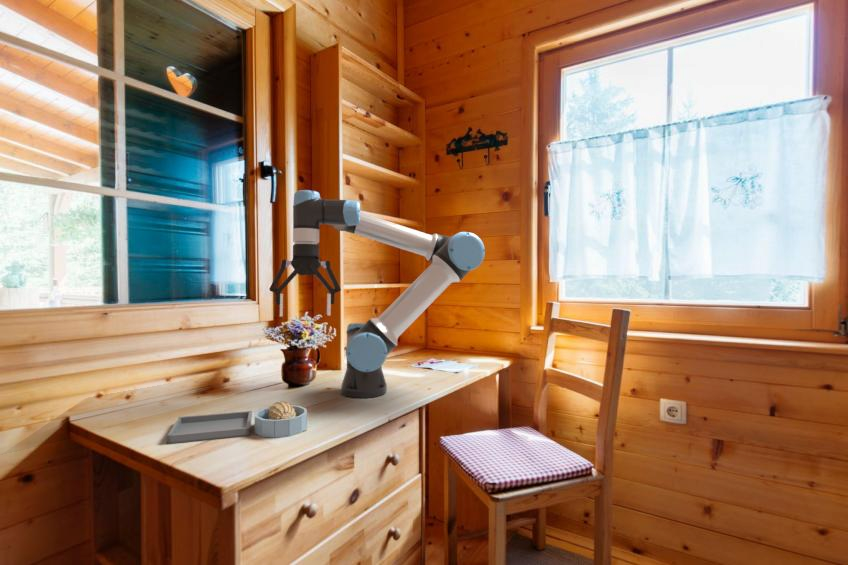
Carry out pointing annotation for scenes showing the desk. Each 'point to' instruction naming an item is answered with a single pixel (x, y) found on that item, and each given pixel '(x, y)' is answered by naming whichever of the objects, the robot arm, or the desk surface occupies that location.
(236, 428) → the tray
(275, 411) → the seashell
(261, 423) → the bowl
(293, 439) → the desk surface
